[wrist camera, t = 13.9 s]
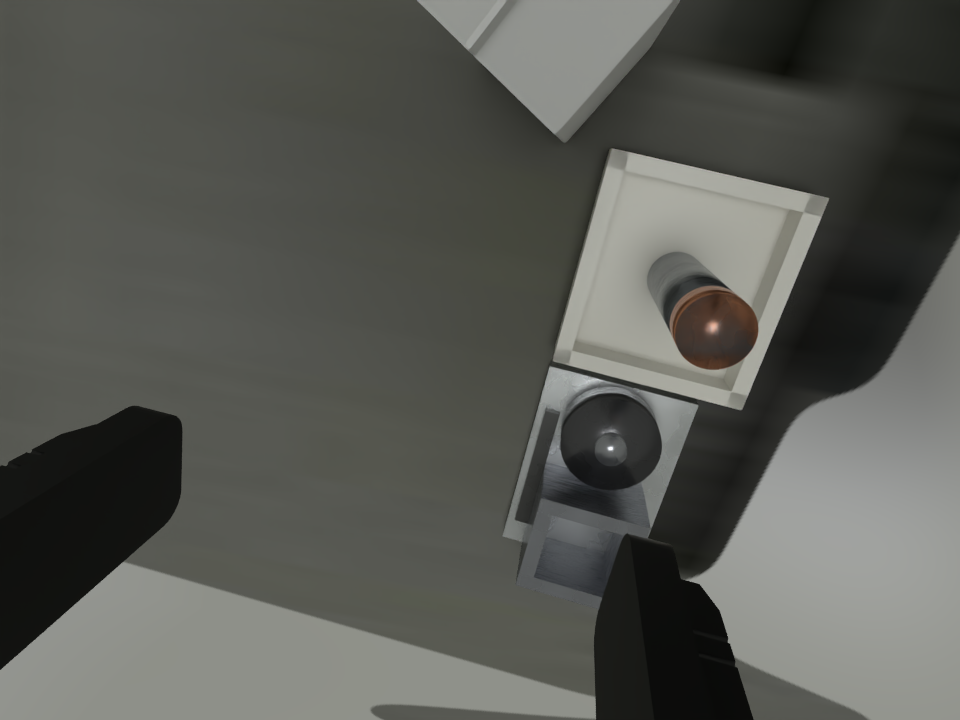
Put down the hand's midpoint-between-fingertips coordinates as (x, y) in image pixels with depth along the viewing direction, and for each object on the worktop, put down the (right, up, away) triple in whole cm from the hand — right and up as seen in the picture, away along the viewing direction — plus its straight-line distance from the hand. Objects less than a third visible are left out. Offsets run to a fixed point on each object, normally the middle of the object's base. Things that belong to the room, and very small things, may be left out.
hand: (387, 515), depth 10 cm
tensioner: (+10, -5, +32) cm, 34 cm away
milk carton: (+7, +21, +24) cm, 33 cm away
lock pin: (+14, +8, +27) cm, 31 cm away
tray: (+14, +8, +27) cm, 32 cm away
